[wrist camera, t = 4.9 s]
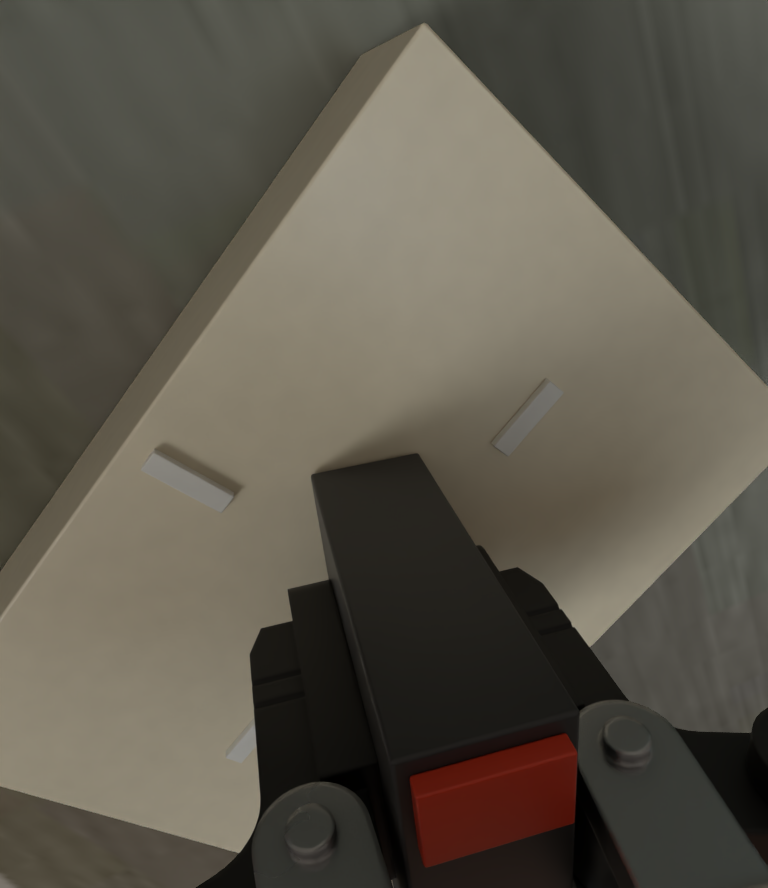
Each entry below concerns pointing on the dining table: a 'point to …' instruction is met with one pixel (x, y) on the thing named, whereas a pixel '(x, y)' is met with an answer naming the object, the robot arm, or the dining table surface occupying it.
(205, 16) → the dining table surface
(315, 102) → the dining table surface
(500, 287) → the panel
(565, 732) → the knob
